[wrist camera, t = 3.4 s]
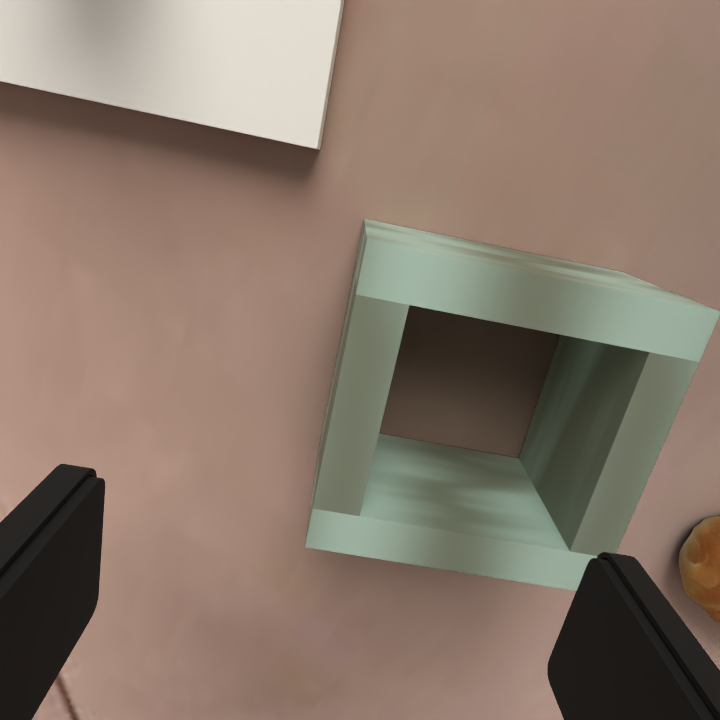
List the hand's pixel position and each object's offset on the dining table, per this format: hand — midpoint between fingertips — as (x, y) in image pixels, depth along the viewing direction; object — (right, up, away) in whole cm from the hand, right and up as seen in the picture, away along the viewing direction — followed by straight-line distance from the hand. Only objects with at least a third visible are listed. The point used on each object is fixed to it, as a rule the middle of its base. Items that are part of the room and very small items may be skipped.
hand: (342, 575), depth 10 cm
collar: (+4, +4, +12) cm, 13 cm away
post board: (-7, +19, +6) cm, 21 cm away
